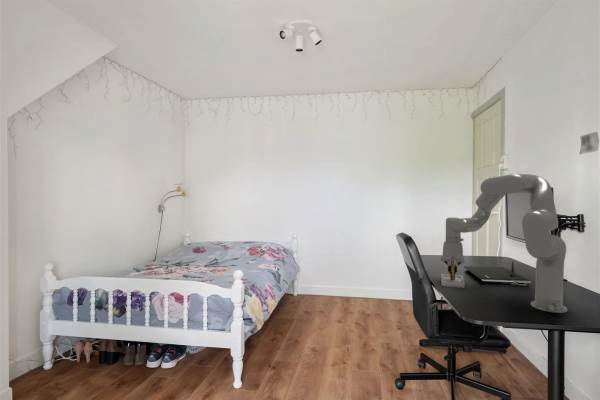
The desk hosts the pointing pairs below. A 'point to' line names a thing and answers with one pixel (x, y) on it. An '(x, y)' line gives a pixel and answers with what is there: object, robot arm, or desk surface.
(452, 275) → the ammunition clip
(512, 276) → the eiffel tower figurine
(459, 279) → the tray
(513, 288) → the desk surface
